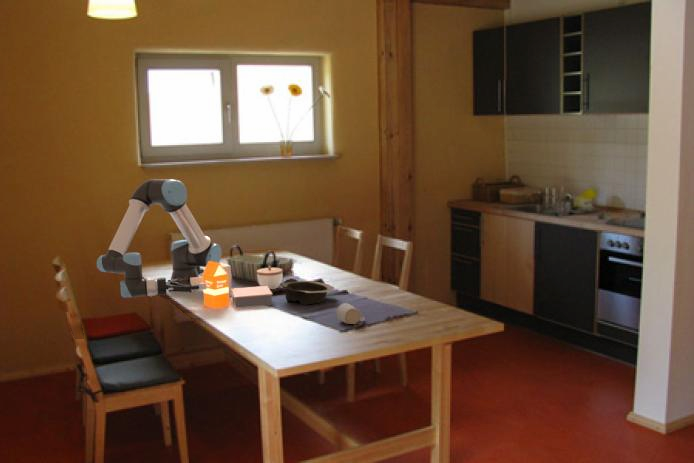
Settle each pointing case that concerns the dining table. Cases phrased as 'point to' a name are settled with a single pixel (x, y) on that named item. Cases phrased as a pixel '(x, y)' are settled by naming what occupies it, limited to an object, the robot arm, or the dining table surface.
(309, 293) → the stone bowl
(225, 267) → the supplement box
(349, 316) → the ceramic mug
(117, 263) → the robot arm
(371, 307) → the dining table surface
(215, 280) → the orange juice
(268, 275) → the lidded bowl
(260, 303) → the podium
